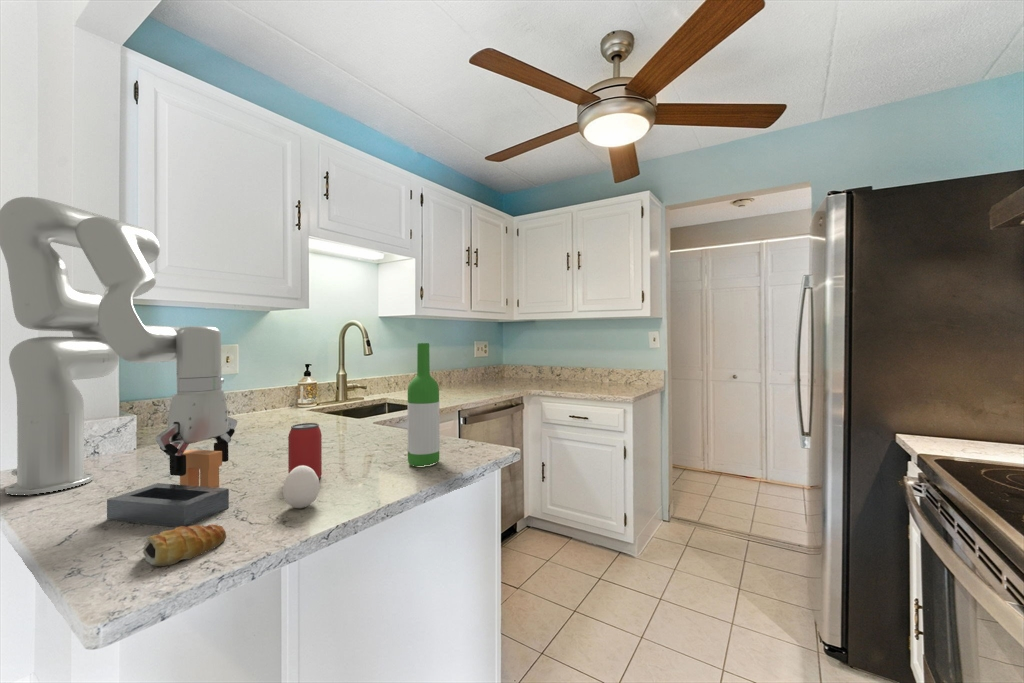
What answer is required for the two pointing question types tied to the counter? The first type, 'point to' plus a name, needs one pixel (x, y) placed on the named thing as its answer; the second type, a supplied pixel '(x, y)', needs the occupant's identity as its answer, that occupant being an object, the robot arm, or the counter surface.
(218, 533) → the pastry
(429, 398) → the wine bottle
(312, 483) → the egg
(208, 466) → the tall orange stepped block
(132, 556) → the counter surface
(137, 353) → the robot arm
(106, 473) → the counter surface
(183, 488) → the gray rectangular frame
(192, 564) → the counter surface
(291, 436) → the beer can
